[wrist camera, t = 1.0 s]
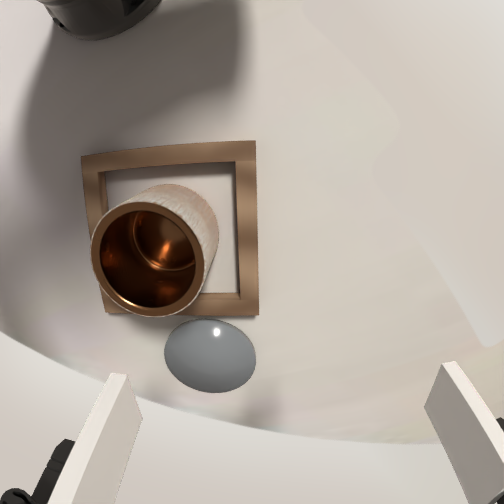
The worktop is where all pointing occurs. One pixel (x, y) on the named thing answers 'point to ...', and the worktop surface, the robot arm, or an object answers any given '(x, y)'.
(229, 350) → the slate trivet
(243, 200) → the holder frame
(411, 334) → the worktop surface
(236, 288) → the worktop surface
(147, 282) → the planter
